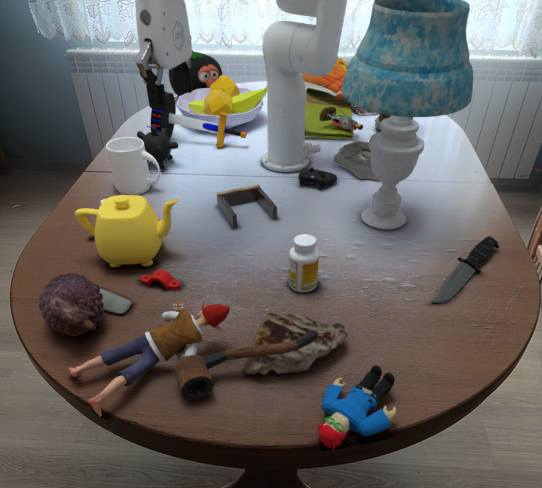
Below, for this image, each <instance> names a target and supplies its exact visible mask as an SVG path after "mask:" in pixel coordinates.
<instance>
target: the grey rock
mask: <svg viewBox="0 0 542 488" xmlns="http://www.w3.org/2000/svg"><path fill="white" fill-rule="evenodd" d="M330 142H331V141H330V140H329V142H328V143H330ZM370 158H371V150H370V148H369V141H363V140H354V141H352V142H350V143H345V144H344V145H342V146H341V147H340V148H339V150H338V152H337V153H336V154H335V155H334V156H333V158H332V159H333V160H332V162H333V163H334V164H336V165H338V166H341V167H343V168H344V169H346V170H348V171H349V172H351V174H353V175H355V177H356V178H358V179H360V180H365V179H367V180H373V181H375V182H381V180H380V179H379V178H377V177H376V176H375V174H374V173H373V171H372V168H371V162H370Z"/></svg>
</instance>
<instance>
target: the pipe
mask: <svg viewBox="0 0 542 488" xmlns="http://www.w3.org/2000/svg"><path fill="white" fill-rule="evenodd" d="M317 336H318V333H316V332H315V331H314V330H311V331H308V332H307V333H306V334H305V335H303V336H302V337H300V338H298V339H297V340H294V341H290V342H286V343H279V344H264V345H257V346H252V345H251V346H244V347H239V348H232V349H231V348H230V349H225V350H221V351H218V352H215V353H212V354H208V355H205V356H201V355H197V354H196V355H189V356H186V357H183V358H182V359H181V360H178V361H177V363H176V364H175V367H174V375H175V379H176V382H177V385H178V389H179V391H180V395H181V396H182V397H183V398H185V400H189V401H198V400H201V399H204V398H206V397H208V396H209V395H210V394H211V392H212V391H213V389H214V385H215V383H214V382H213V378H212V376H211V374H210V370H209V369H212V368H214V367H216V366H217V365H220V364H222V363H224V362H227V361H231V360H238V359H246V358H247V357H254V356H261V355H274V354H284V353H288V352H291V351H295V350H298V349H300V348H302V347H304V346H306V345H308V344H310V343H312V342H314V341H315V340H317Z"/></svg>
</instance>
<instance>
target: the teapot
mask: <svg viewBox="0 0 542 488" xmlns="http://www.w3.org/2000/svg"><path fill="white" fill-rule="evenodd" d="M105 199H106V200H104V201H103V203H102V204H101V205H100V204H99V207H98V209H97V208H89V207H88V208H86V207H85V208H84V207H82V208H78V209H76V210H75V212H74V217H75V219H76V220H77V222H78V223H79V224H80V225H81V227H83V229H85V230H86V231H88V232H89V233H90V235H91V236H95V237H94V242H95V248H96V252H97V254H98V255H99V256H100V258H101V259H103V260H104V261H105V262H107V263H109V267H112V268H119V267H121V266H122V265H138V264H139V265H141V267H150V266H151V265H153V263H154V261H153V259H155V257H156V255H157V254H158V253H159V251H160V248H161V247H162V244H163V241H164V238H165V237H167V235H169V233H170V230H171V227H172V209H173V207H174V205H176V203H177V202H179V201H180V199H179V198H174V199H170V200H168V201H166V202H165V203H164V205H163V207H162V219H161V220H160V219H159V217H158V215H157V213H156V212H155V209H154V208H153V207H152V205H151V203H150V202H149V201H148V199H147V198H145V197H144V196H142V195H140V194H139V195H124V194H118V195H112V196H109V197H106V198H105ZM87 216H95V217H96V219H95V224H94V226H93V225H92V224H91V223H90V221H89V220H88V219H87Z"/></svg>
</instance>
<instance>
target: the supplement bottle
mask: <svg viewBox="0 0 542 488" xmlns="http://www.w3.org/2000/svg"><path fill="white" fill-rule="evenodd" d="M292 245H293V246H292V247H291V248H290V250H289V255H288V286H289V288H290V289H292V290H293V291H295V292H297V293H308V292H311V291H313V290H314V289H316V287H317V285H318V277H319V263H320V261H319V260H320V253H319V250H318V248H317V238H316V237H315V236H314V235H313V234H312V235H311V234H308V233H300V234H298V235H296V236H294V238H293V244H292Z"/></svg>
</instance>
